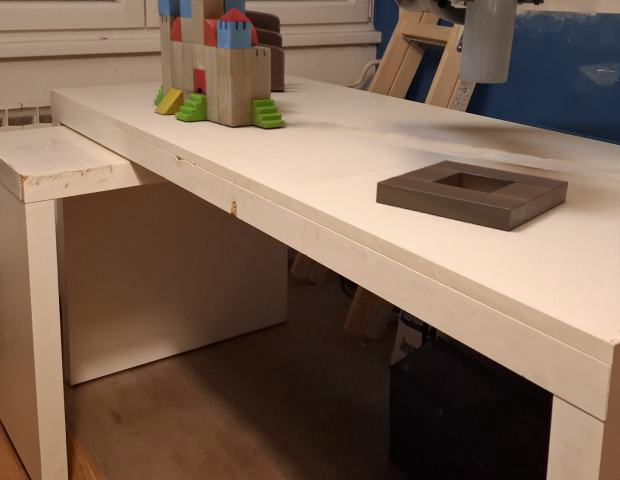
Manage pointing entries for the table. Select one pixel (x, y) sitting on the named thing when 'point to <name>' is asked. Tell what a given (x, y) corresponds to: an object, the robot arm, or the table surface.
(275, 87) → the letter holder
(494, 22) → the grey cylinder peg
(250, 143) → the table surface
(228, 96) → the block set
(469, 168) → the socket pad
